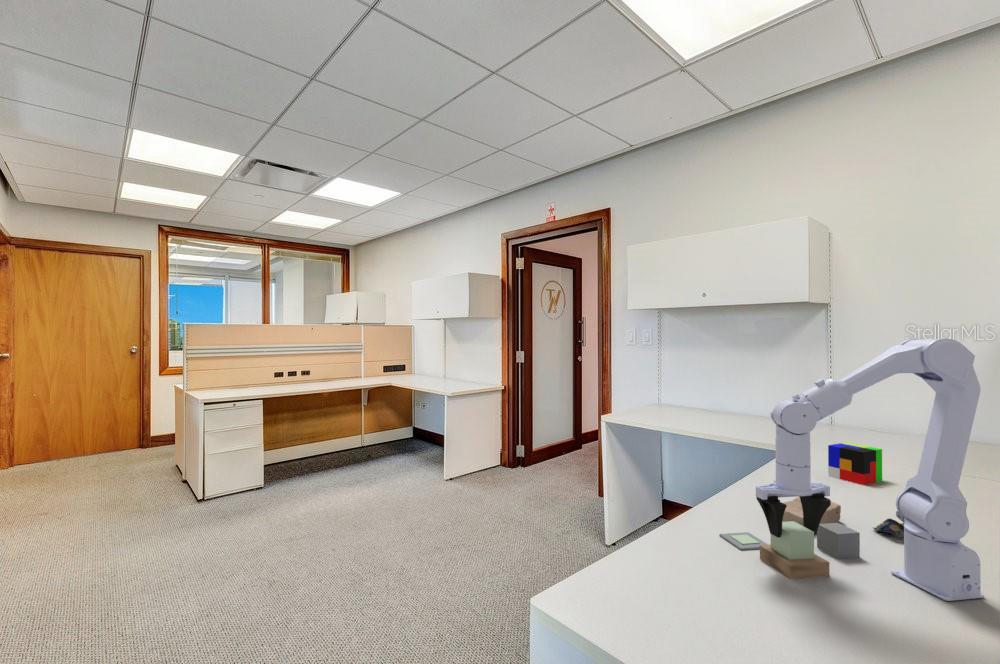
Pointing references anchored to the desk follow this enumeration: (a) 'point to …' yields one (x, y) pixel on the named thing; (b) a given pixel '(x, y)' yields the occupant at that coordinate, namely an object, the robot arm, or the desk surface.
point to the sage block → (794, 541)
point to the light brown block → (795, 564)
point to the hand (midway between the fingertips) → (792, 534)
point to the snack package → (892, 526)
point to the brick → (796, 512)
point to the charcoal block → (838, 540)
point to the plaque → (743, 540)
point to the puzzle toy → (855, 463)
